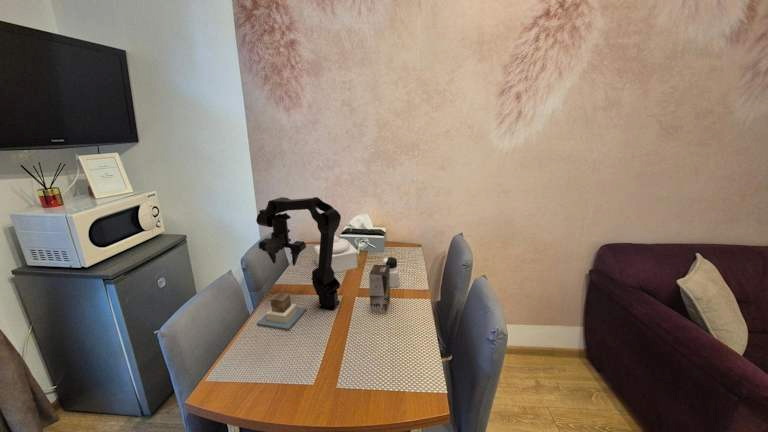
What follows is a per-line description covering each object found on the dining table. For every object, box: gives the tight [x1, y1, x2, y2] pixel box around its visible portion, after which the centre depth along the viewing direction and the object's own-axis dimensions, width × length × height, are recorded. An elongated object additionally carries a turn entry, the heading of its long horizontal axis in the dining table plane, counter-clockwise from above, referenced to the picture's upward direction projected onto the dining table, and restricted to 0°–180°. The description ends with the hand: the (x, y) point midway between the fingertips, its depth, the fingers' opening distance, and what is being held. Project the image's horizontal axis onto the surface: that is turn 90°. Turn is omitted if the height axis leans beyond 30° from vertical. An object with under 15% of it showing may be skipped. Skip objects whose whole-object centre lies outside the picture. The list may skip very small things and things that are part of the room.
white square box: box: [313, 235, 359, 274], centre depth 164 cm, size 18×18×16 cm
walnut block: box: [269, 292, 292, 313], centre depth 121 cm, size 5×5×5 cm
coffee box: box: [368, 264, 391, 315], centre depth 126 cm, size 9×6×16 cm
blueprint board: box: [256, 303, 308, 332], centre depth 122 cm, size 13×13×4 cm
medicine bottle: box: [382, 256, 400, 288], centre depth 144 cm, size 7×7×12 cm
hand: (284, 264), depth 137 cm, fingers open, 9 cm apart
